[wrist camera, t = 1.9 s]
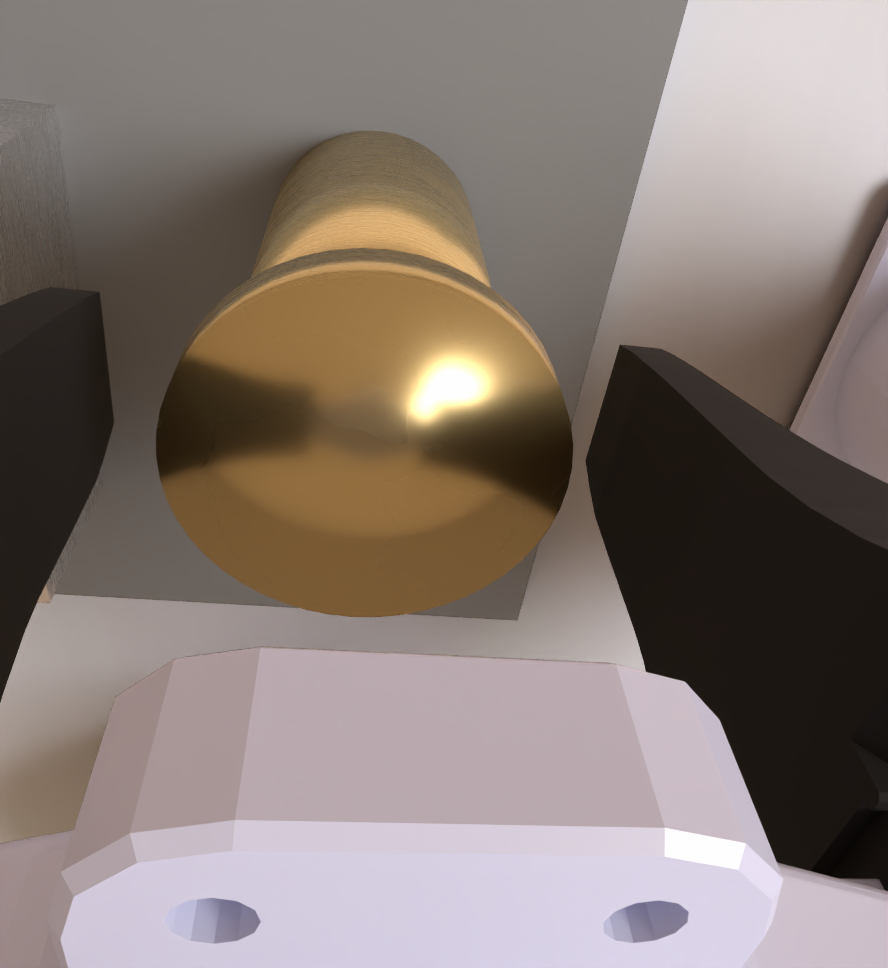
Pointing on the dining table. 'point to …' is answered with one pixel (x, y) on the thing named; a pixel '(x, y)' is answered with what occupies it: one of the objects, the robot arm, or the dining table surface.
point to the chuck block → (36, 234)
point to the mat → (271, 155)
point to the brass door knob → (365, 398)
